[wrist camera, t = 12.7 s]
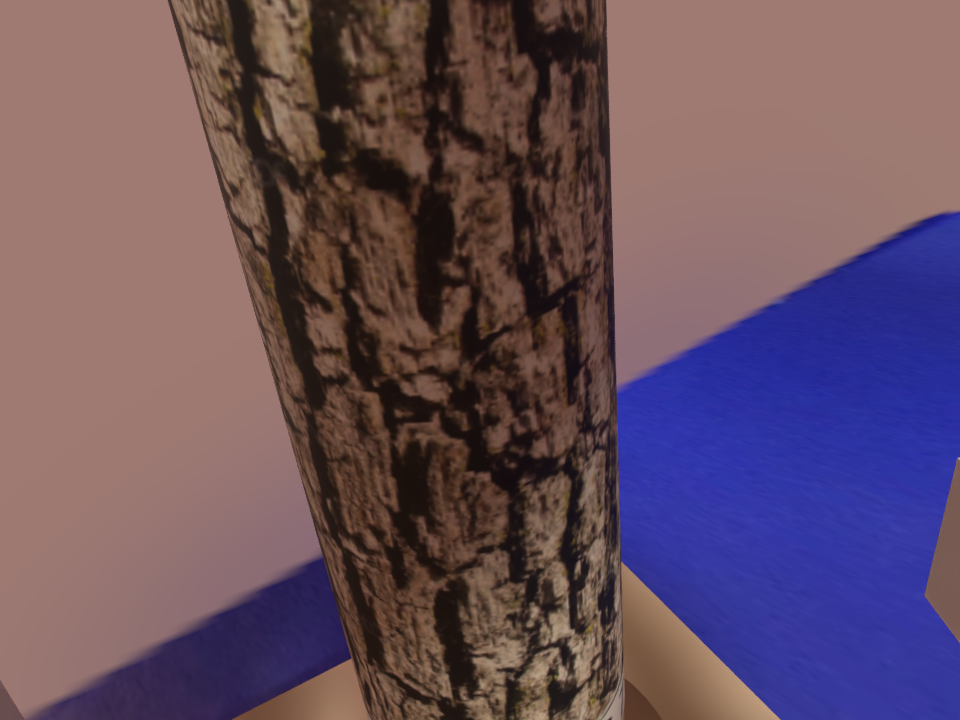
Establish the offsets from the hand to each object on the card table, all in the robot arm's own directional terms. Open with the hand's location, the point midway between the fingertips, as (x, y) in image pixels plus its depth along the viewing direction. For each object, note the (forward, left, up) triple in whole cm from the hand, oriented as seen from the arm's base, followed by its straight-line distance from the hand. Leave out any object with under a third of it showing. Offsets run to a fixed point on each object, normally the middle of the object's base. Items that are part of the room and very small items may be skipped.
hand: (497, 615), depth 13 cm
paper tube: (-3, -7, -15) cm, 17 cm away
